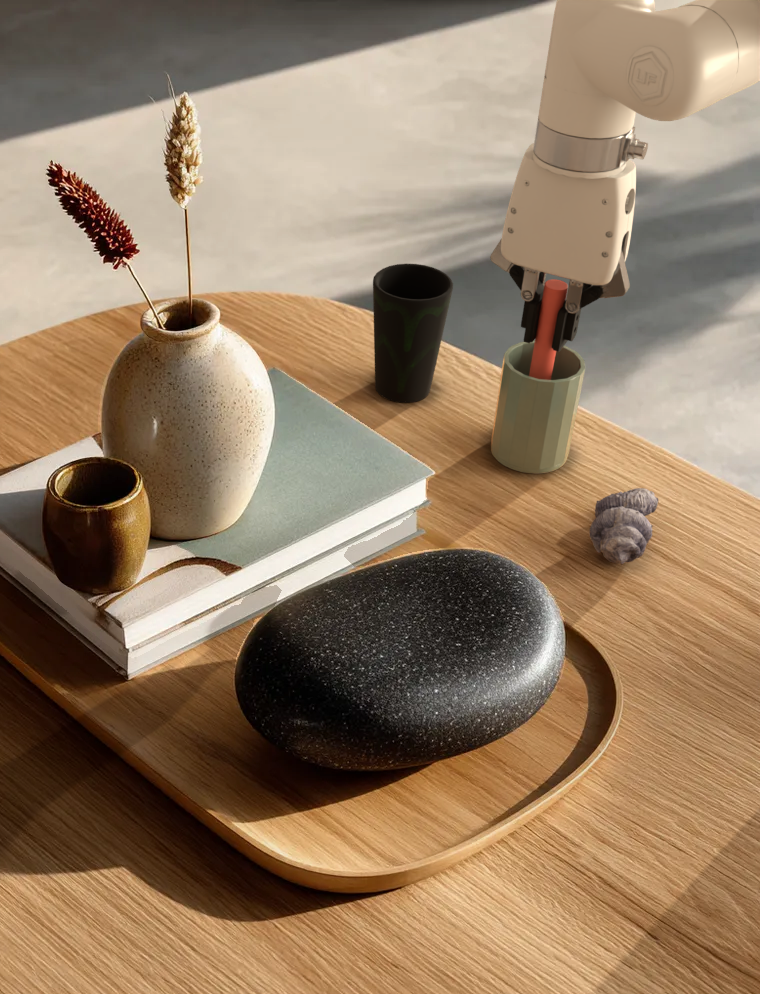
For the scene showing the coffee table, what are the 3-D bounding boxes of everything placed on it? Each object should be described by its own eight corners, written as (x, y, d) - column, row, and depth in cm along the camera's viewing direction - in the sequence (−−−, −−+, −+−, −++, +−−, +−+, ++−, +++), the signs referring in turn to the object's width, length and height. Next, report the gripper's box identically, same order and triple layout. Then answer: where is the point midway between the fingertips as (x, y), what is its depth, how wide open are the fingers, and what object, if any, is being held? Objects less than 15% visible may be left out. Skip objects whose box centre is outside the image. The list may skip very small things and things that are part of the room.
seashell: (612, 519, 120) (610, 593, 112) (582, 477, 118) (578, 549, 110) (667, 498, 117) (669, 572, 110) (638, 454, 115) (638, 526, 108)
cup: (403, 360, 139) (413, 255, 132) (456, 391, 135) (469, 284, 127) (349, 384, 135) (356, 278, 128) (401, 417, 131) (412, 308, 123)
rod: (546, 416, 124) (571, 282, 116) (539, 427, 123) (563, 292, 115) (526, 410, 125) (549, 277, 117) (518, 420, 124) (541, 286, 115)
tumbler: (577, 444, 127) (595, 353, 121) (552, 482, 122) (569, 390, 116) (507, 422, 130) (521, 333, 124) (479, 458, 125) (492, 367, 119)
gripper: (691, 148, 108) (645, 346, 119) (506, 108, 114) (479, 300, 125) (665, 181, 102) (620, 384, 113) (472, 137, 108) (447, 334, 120)
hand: (546, 338), depth 119 cm, fingers closed on rod, 2 cm apart
